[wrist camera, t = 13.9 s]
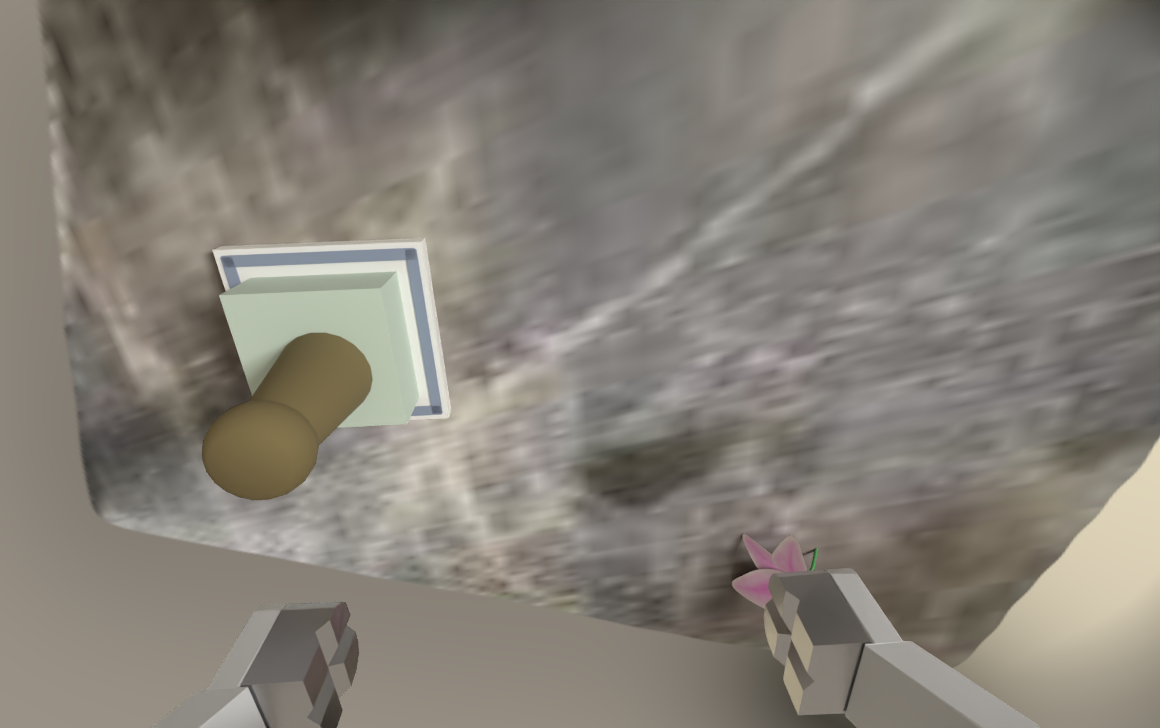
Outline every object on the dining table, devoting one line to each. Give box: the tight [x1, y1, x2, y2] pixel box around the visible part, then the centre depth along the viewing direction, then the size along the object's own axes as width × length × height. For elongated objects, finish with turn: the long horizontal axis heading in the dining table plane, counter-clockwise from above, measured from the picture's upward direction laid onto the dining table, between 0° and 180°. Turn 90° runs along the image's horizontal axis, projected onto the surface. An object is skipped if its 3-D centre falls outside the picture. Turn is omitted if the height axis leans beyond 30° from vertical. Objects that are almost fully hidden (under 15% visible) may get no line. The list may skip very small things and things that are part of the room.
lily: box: [732, 534, 818, 608], centre depth 49 cm, size 12×12×10 cm
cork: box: [202, 332, 373, 500], centre depth 31 cm, size 6×6×11 cm
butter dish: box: [213, 238, 451, 428], centre depth 38 cm, size 14×14×5 cm
